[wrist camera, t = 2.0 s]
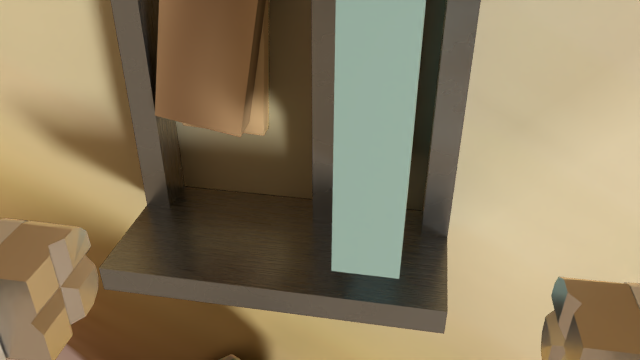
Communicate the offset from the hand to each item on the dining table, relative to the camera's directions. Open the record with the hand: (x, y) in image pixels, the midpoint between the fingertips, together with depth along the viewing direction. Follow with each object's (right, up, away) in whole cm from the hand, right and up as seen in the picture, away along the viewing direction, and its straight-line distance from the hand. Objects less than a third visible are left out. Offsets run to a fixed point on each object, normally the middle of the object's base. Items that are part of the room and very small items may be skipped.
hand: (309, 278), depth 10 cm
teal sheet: (+3, +9, +15) cm, 18 cm away
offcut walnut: (-4, +9, +15) cm, 18 cm away
